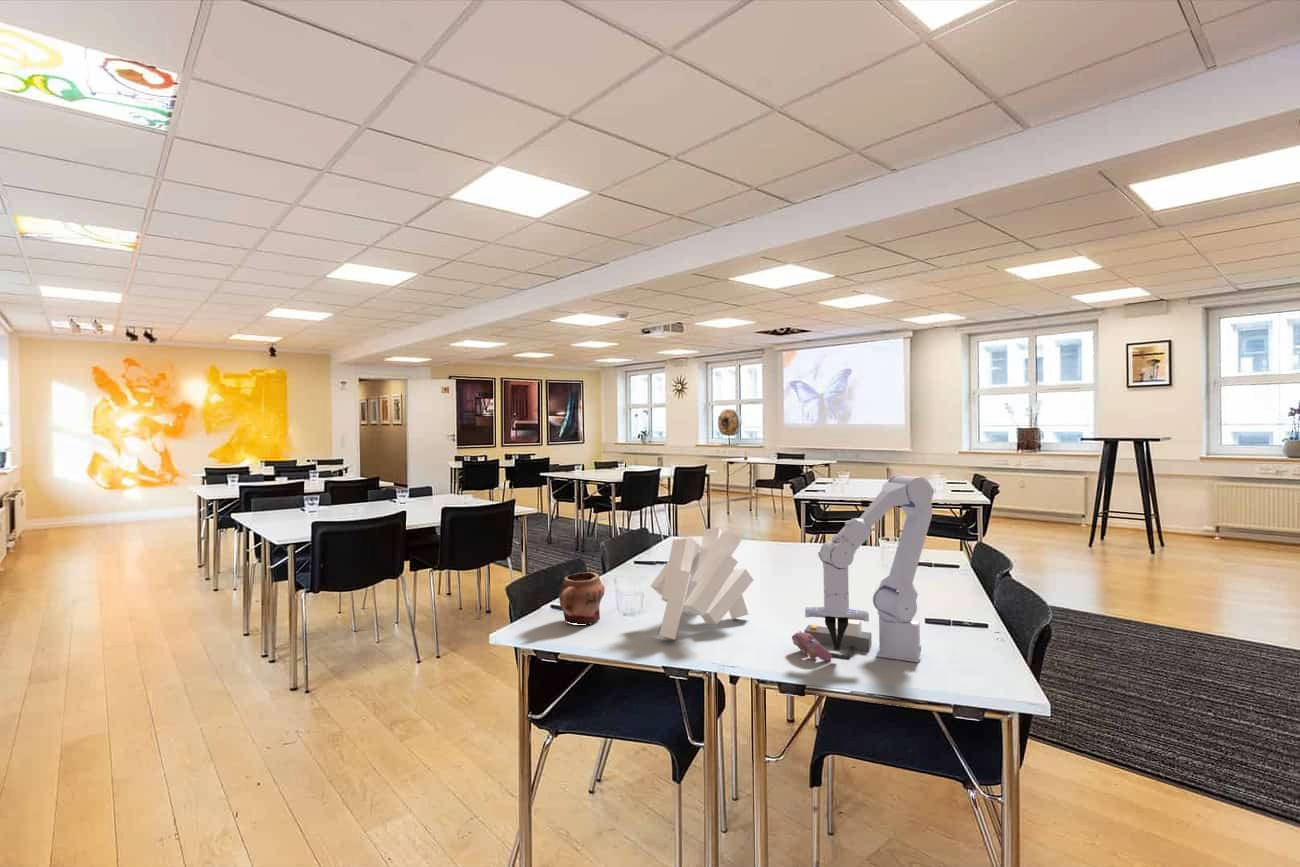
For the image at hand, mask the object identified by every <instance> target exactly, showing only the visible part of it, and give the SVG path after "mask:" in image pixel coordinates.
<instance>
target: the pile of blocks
mask: <svg viewBox="0 0 1300 867" xmlns="http://www.w3.org/2000/svg"><path fill="white" fill-rule="evenodd" d="M741 542H742V539H740V538H739V537H738V536H737V535H736V534H735V533H733V532H732V531H725V532H723V531H722V529H721V527H713V528H706V529H703V534H702V540H701V545H699V543H698V542H697V541H695V539H693V538H690V537H689V538H679V539H673V540H672V544H671V549H670V554H669V558H668V560H667V562H666V564H665V565H664V566H663V567H662V569H661V570H660V572H659V573H658V575H657V576H656V578H655V579H654V580H653V581H652V583H651V585H650V587H651V588H652V589H653V590H654V591H656V593H658V595H660V596H661V598H660V599H661V600H662V601H663V602H666V604H665V605H666V606H665V609H664V613H663V614H664V615H663V617H662V618H663V619H662V623H661V625H660V630H659V633H658V634H659V636H661V637H664V638H667V639H672V640H676V639H675V638H677V635H678V630H679V627H680V626H679V625H680V621H681V617H682V614H685V615H686V616H688V617H689V616H690V617H693V616H701V618H702V619H703V621H704V622H705V623H706V624H709V625H718V624H719V622H721V620H722V619H723V618H724V617H725V615H727V613H728V612H729V614H730V618H731V620H734V619H738V618H740V617H744V616H748V615H750V614H751V613H752V612H751V611H750V608H749V604H748V602H747V598H746V595H745V593H744V592H746V590H747V589H748V587H749V586H750V585H751V584H752V583H753V582H754V579H753V577H752V576H751V575H750V573H749V572H748V570H747V569H746V568H743V569H742V568H739V569H738V568H736V566H737V564H738V563H739V562H738V560H736V559H735V558H734V557H733V554H734V553H735V551H736V549H737V548H738V547H739V545H740V543H741Z"/></svg>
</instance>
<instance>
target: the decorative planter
mask: <svg viewBox="0 0 1300 867" xmlns="http://www.w3.org/2000/svg"><path fill="white" fill-rule="evenodd" d="M604 595H605V585H604V583H603V582H602V581H601V578H600V575H599V574H598V573H596V572H591V571H589V572H577V573H574V574H569V575H566V576H565V577H564V579H563V582H562V585H561V587H560V590H559V595H558V598H559V606H560V608H561V610H562V612H563V617H564V621H565V622H566V621H567V622H570V623H577V624H590V623H593V622H595V623H597V622H598V621H599V620H601V616H600V615H601V613H600V604H601V601H602V599H603V598H604ZM596 621H597V622H596ZM593 624H594V623H593ZM590 625H591V624H590Z"/></svg>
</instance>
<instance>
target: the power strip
mask: <svg viewBox="0 0 1300 867" xmlns="http://www.w3.org/2000/svg"><path fill="white" fill-rule="evenodd" d="M804 633H808V634H810V635H812V637H813V638H814V639H816V640H817V641H818V642H819V643H820V644H821V645H822V646H825V645H828V647H832V646H834V645H833V641H832V638H831V635H830V632H829V630H828V628H827V626H820V625H815V624H808V625H807V626H806V628H805V629H804ZM837 635H838V627H836V639H837ZM872 641H873V640H872V632H870V631H868V632H867V631H862V620H850V619H848V626H847V628H846V630H845V632H844V635H843V637H842V641H841V645H840V647H842V649H847V648H849V650H848V652H847V654H842V653H834V652H830V653H831V655H832V657H833V656H834V658H841V659H846V660H847V659H848V658H849V659H850V658H851V656H852V653H853V651H854V649H856V651H862V650H863V652H870V650H871V648H872Z"/></svg>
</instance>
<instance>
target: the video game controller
mask: <svg viewBox="0 0 1300 867" xmlns="http://www.w3.org/2000/svg"><path fill="white" fill-rule="evenodd" d="M791 640H792V642H793V645H794V646H797V647H798V648H799V650H800V652H801V653H802V654H803V653H804V655H805V654H806V655H805V656H807V655H808V656H809V658H810V659H812V658H813V659H812V660H815V659H816V658H818V659H819V660H822V661H825V662H831V661H832V657H833V656H832V655H831V653H832V652H830V651H829V650H828V649H826V648H825V647H824V645H821V644H820V643H819V642H818V641H817V640H816V639H814V638H813V637H812V635H810V634H808V633H804V632H802V631H798V632H795V634H793V635H792V636H791Z"/></svg>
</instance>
